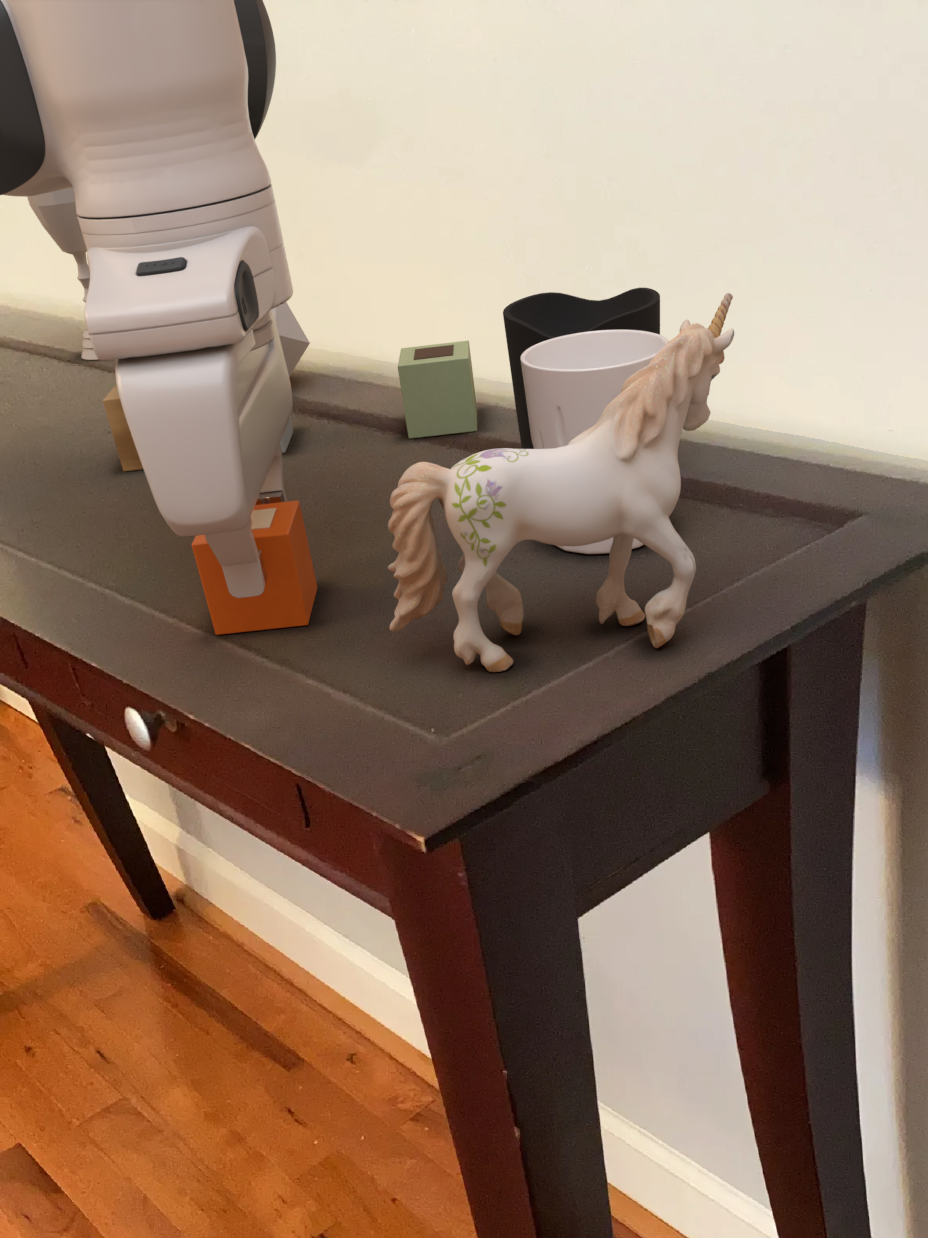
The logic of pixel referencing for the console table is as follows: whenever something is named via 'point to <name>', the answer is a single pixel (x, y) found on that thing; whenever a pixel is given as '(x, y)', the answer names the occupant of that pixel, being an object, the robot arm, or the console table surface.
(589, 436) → the unicorn figurine
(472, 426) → the line block
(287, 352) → the die
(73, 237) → the chalice
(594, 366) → the white cup
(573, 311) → the pen holder
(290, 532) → the orange block
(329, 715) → the console table surface
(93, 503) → the console table surface
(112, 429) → the line block
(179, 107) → the robot arm
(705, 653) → the console table surface
